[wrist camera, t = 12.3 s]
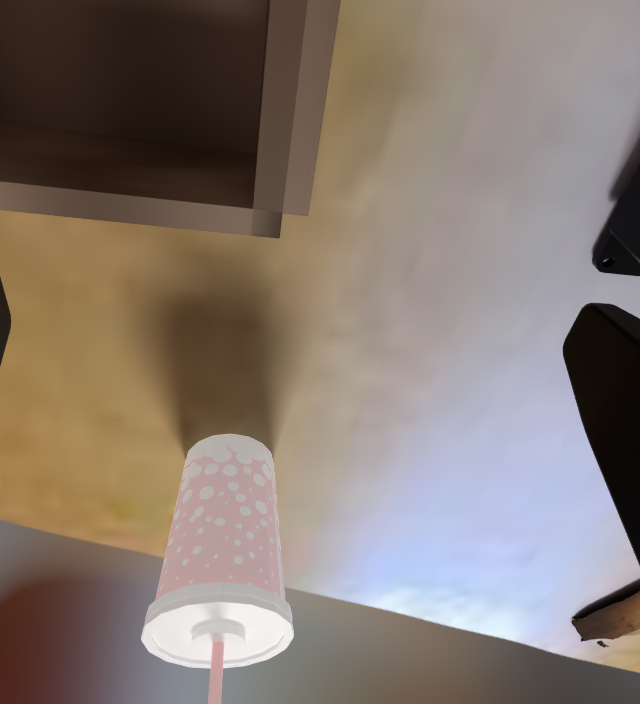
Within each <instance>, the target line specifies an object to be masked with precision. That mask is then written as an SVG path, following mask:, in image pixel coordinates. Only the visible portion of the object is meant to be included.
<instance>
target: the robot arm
mask: <svg viewBox="0 0 640 704" xmlns="http://www.w3.org/2000/svg"><path fill="white" fill-rule="evenodd" d="M610 256H611V257H610ZM607 257H610V258H609V259H608V260H607V261H605V262H603V261H604V260H605V258H607ZM592 263H593V265H594V266H595V267H596V268H597V269H598V270H599V271H600V272H603V273H612V274H622V275H632V276H640V166H639V168H638V170H637V172H636V174H635V175H634V177H633V179H632V181H631V183H630V185H629V187H628V189H627V191H626V193H625V195H624V196H623V198H622V200H621V202H620V204H619V206H618V208H617V210H616V212H615V214H614V215H613V217H612V219H611V221H610V223H609V225H608V228H607V230H606V232H605V234H604V236H603V238H602V240H601V242H600V243H599V245H598V247H597V249H596V251H595V253H594V255H593V258H592ZM10 328H11V315H10V310H9V307H8V303H7V299H6V296H5V292H4V289H3V285H2V281H1V278H0V365H1V362H2V358H3V354H4V351H5V347H6V344H7V340H8V336H9V333H10ZM563 357H564V360H565V364H566V367H567V371H568V374H569V378H570V381H571V385H572V389H573V392H574V396H575V399H576V403H577V406H578V410H579V413H580V417H581V420H582V423H583V426H584V429H585V432H586V435H587V438H588V440H589V443H590V446H591V448H592V451H593V453H594V455H595V458H596V460H597V463H598V465H599V468H600V470H601V473H602V475H603V477H604V480H605V482H606V485H607V487H608V490H609V492H610V495H611V497H612V499H613V502H614V504H615V507H616V509H617V512H618V514H619V517H620V519H621V521H622V524H623V526H624V529H625V531H626V534H627V536H628V539H629V541H630V543H631V546H632V548H633V551H634V553H635V556H636V558H637V561H638V563H639V565H640V319H639V318H637V317H635V316H634V315H632V314H630V313H628V312H626V311H624V310H623V309H621V308H619V307H617V306H615V305H612V304H604V303H589V304H586V305H585V306H584V307H583V308H582V309H581V311H580V313H579V314H578V316H577V318H576V320H575V322H574V324H573V326H572V328H571V329H570V331H569V333H568V335H567V337H566V339H565V341H564V345H563Z"/></svg>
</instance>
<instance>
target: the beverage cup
mask: <svg viewBox="0 0 640 704" xmlns="http://www.w3.org/2000/svg"><path fill="white" fill-rule="evenodd" d="M293 637H294V630H293V625H292V613H291V609H290V605H289V604H288V603H287V602H286V601H285V591H284V579H283V568H282V556H281V544H280V533H279V521H278V509H277V498H276V486H275V474H274V463H273V458H272V453H271V452H270V451H269V450H268V449H267V448H266V446H265V445H264V444H263V443H261V442H259V441H257V440H255V439H253V438H251V437H248V436H242V435H236V434H223V435H213V436H211V437H208V438H206V439H203V440H201V441H199V442H197V443H196V444H195V445H194V446H193V447H192V448H191V449H190V450H189V451H188V454H187V458H186V462H185V466H184V471H183V475H182V480H181V485H180V489H179V494H178V498H177V503H176V508H175V512H174V517H173V521H172V526H171V530H170V535H169V540H168V544H167V549H166V553H165V558H164V563H163V567H162V572H161V576H160V581H159V586H158V590H157V595H156V599H155V602H153V603H152V604H151V605H150V606H149V608H148V611H147V615H146V618H145V624H144V628H143V631H142V637H141V640H142V642H143V643H144V645H145V646H146V648H147V650H148V651H149V652H150V653H152V654H154V655H156V656H158V657H160V658H161V659H163V660H165V661H167V662H171V663H175V664H179V665H183V666H188V667H197V668H211V672H210V685H209V699H208V704H221V693H222V676H223V674H222V673H223V668H230V667H238V666H246V665H250V664H253V663H257V662H260V661H264V660H267V659H270V658H271V657H273V656H275V655H276V654H278V653H280V652H282V651H283V650H285V649H286V648H287V646H288V645H289V643H290V642H291V640H292V639H293Z"/></svg>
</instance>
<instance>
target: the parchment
mask: <svg viewBox="0 0 640 704" xmlns="http://www.w3.org/2000/svg"><path fill="white" fill-rule="evenodd" d="M572 624H573V626H574V627H575V628H576V630H577V632H578V633H579V634H580V635H581V637H582V638H583V640H582V641H587V640H590V639H615V638H619V637H621V636H625V635H637V634H640V591H638V592H637V593H636V594H634V595H633V596H631V597H628V598H627V599H625V600H624V601H622V602H617V603H614V604H612V605H609V606H607V607H606V608H603V609H600V610H598V611H595V612H594V613H592V614H590V615H588V616H587V617H584V618H583V619H582V618H578V619H577V620H576V619H575V620H572ZM582 641H581V642H582ZM597 643H598V644H599V645H600V646H603V647H606V644H605V645H603V644H604V643H603V642H602V641H598V642H597ZM607 647H609V646H607Z"/></svg>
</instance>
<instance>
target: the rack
mask: <svg viewBox="0 0 640 704" xmlns="http://www.w3.org/2000/svg"><path fill="white" fill-rule="evenodd" d="M340 1H341V0H0V210H5V211H15V212H25V213H34V214H44V215H54V216H64V217H74V218H84V219H93V220H103V221H113V222H123V223H133V224H143V225H152V226H162V227H172V228H182V229H192V230H202V231H211V232H221V233H231V234H241V235H251V236H260V237H270V238H279V237H280V229H281V220H282V214H291V215H301V216H308V212H309V206H310V199H311V193H312V186H313V179H314V173H315V166H316V160H317V153H318V146H319V140H320V133H321V127H322V120H323V113H324V107H325V100H326V94H327V87H328V80H329V74H330V67H331V61H332V54H333V47H334V41H335V34H336V28H337V21H338V14H339V8H340Z"/></svg>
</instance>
